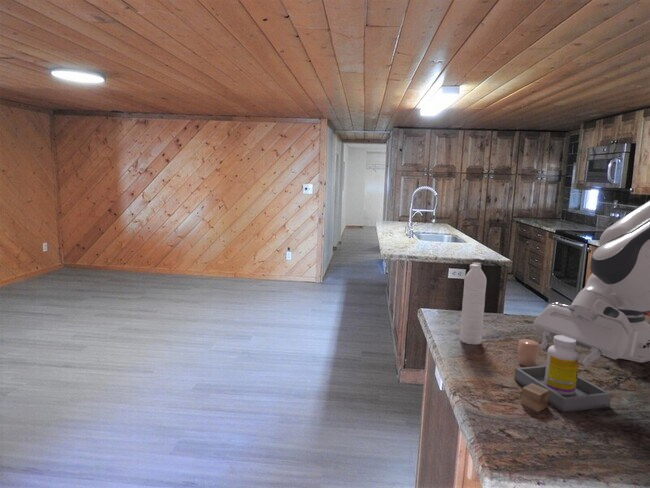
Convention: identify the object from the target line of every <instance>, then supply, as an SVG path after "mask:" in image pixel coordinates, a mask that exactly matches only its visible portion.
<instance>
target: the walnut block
mask: <svg viewBox="0 0 650 488" xmlns="http://www.w3.org/2000/svg"><path fill="white" fill-rule="evenodd" d="M548 398H549V390H547V389H545V388H542V387H540V386H538V385H535V384H533V383H531V384H529V385H527V386H523V387H521V399H520V405H522V406H524V407H526V408H529V409H530V410H533V411H535V412H537V413H539V412H540V411H542V410H545V409H546V408H548V406H549V402H548Z"/></svg>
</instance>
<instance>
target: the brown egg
mask: <svg viewBox="0 0 650 488" xmlns="http://www.w3.org/2000/svg"><path fill="white" fill-rule="evenodd" d="M539 350H540V344H539V342H537V341H535V340H531V339H527V338H524V339H519V341H518V349H517V360H516V361H517V364H519V365H521V366H522V367H534V366H538V359H539Z"/></svg>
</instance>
